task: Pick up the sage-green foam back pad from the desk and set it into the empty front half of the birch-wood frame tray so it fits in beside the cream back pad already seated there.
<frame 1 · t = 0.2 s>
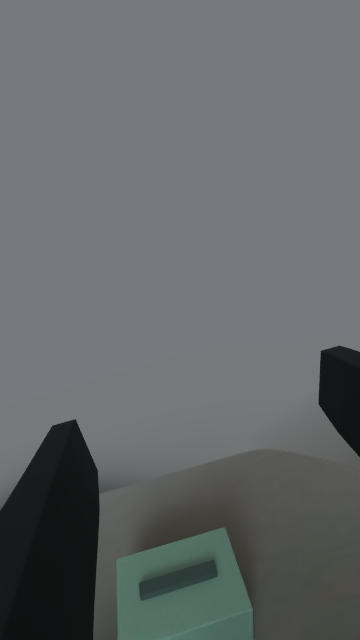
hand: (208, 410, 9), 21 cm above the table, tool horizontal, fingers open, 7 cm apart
green pad: (185, 613, 22), on the table
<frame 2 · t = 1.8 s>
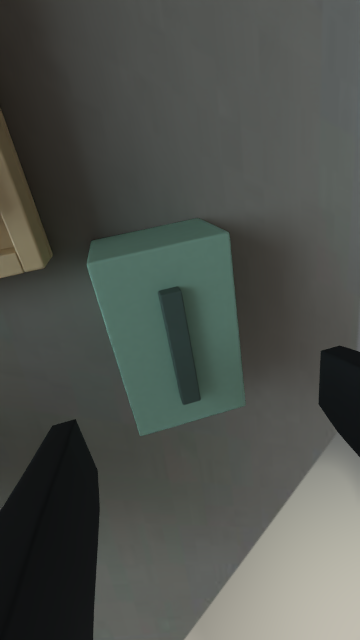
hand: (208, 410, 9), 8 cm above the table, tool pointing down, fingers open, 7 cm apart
green pad: (162, 308, 16), on the table
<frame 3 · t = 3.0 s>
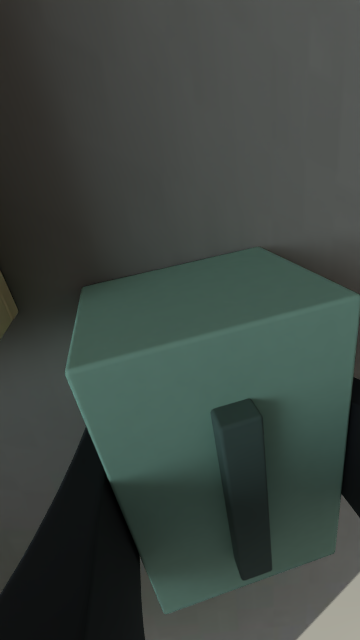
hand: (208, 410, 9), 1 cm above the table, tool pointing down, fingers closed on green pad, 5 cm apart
green pad: (194, 381, 10), on the table, touching gripper
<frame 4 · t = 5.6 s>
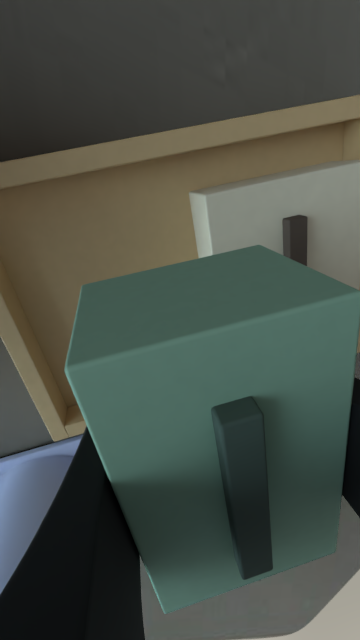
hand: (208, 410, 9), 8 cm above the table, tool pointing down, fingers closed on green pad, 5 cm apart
frame tray: (188, 275, 16), on the table
cream pad: (261, 257, 17), resting on frame tray
green pad: (194, 380, 10), point 7 cm above the table, touching gripper
when the fingers open (2 cm above the table, at t = 8.3 s): green pad stays where it is, resting on frame tray.
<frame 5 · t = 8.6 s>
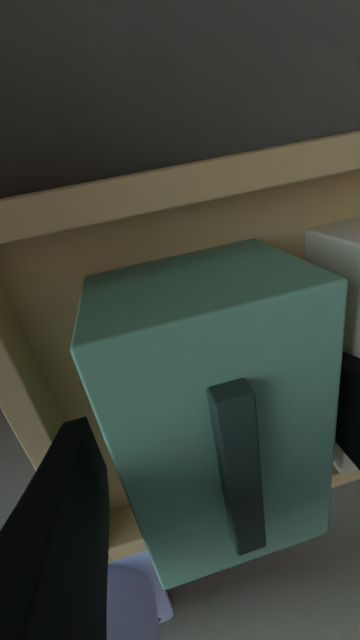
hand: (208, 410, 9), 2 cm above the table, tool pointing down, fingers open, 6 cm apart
frame tray: (280, 338, 12), on the table
green pad: (193, 370, 11), point 1 cm above the table, touching frame tray
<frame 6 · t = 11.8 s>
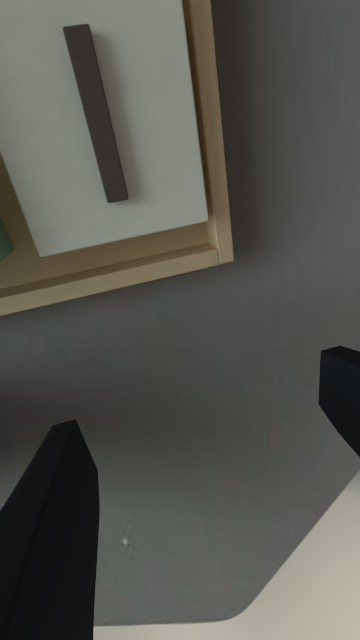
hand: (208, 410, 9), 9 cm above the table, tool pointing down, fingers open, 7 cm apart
frame tray: (5, 150, 13), on the table
cream pad: (100, 134, 14), resting on frame tray
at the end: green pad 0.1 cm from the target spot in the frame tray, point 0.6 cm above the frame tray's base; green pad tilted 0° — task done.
